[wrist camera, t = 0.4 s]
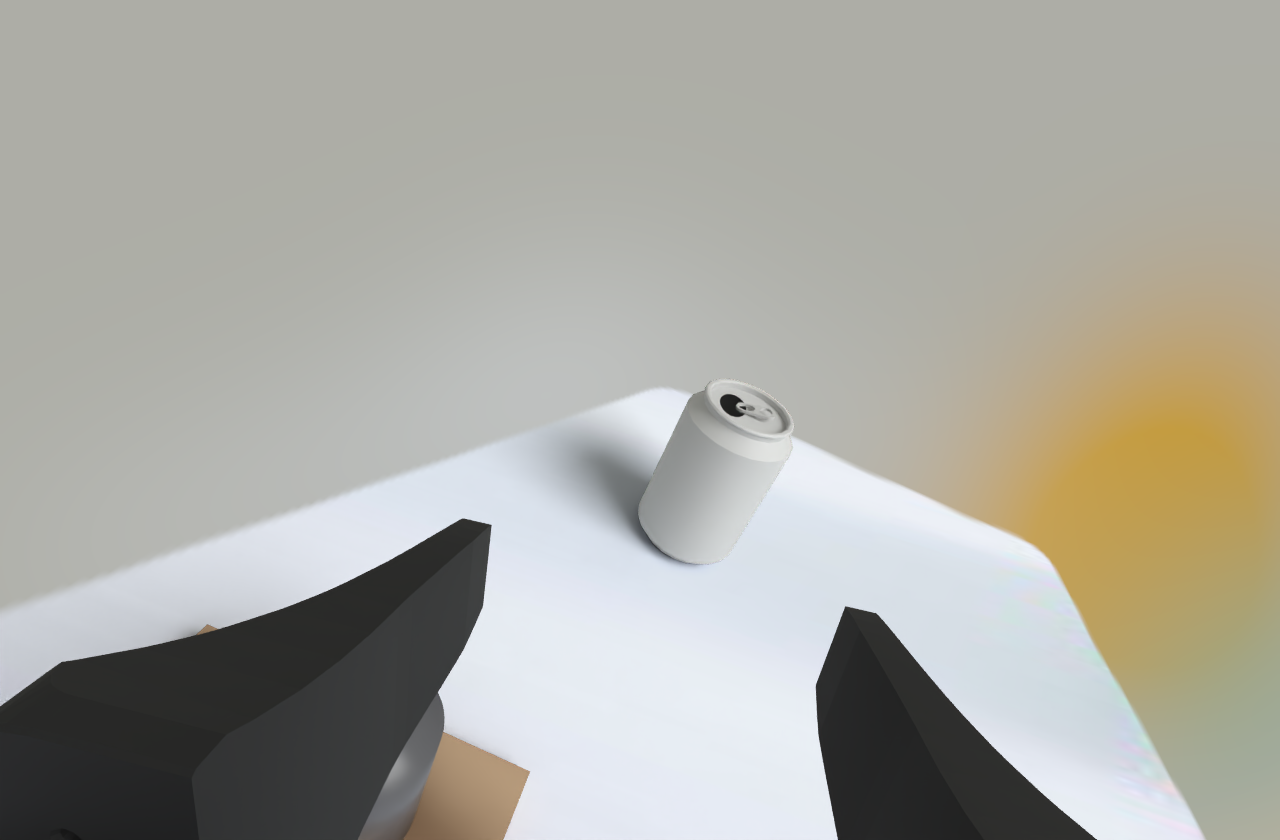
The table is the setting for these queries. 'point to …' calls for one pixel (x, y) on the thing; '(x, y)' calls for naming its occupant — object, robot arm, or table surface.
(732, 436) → the can
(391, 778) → the dark gray cylinder
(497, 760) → the barrel mount
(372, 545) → the table surface
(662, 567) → the table surface
